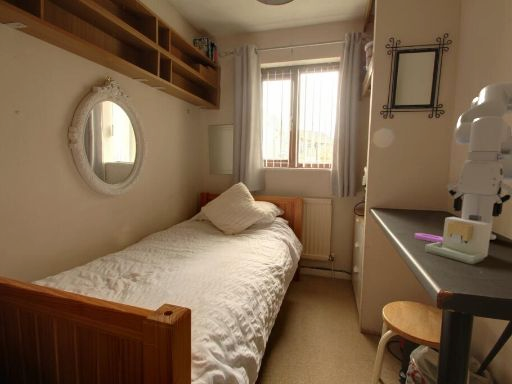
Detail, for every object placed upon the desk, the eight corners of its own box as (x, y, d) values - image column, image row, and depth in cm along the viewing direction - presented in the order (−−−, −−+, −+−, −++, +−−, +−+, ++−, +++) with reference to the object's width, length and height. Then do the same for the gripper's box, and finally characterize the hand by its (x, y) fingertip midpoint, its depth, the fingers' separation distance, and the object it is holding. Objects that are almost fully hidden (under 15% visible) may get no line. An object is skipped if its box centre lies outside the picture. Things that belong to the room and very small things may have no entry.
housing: (449, 246, 88) (452, 216, 87) (487, 256, 80) (491, 223, 79) (441, 248, 85) (445, 217, 84) (480, 258, 77) (484, 224, 76)
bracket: (459, 244, 93) (461, 224, 92) (456, 247, 89) (459, 226, 88) (416, 235, 102) (418, 217, 101) (412, 238, 98) (414, 219, 97)
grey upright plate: (469, 237, 86) (472, 214, 86) (478, 239, 84) (481, 216, 84) (450, 241, 80) (453, 217, 79) (460, 243, 78) (463, 218, 77)
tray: (437, 247, 86) (438, 241, 86) (484, 260, 76) (485, 253, 76) (424, 251, 82) (425, 244, 82) (471, 264, 72) (472, 257, 72)
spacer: (452, 235, 83) (453, 222, 82) (471, 239, 78) (473, 225, 78) (446, 236, 81) (448, 222, 80) (466, 240, 77) (468, 226, 76)
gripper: (525, 159, 77) (517, 218, 78) (455, 159, 91) (449, 209, 93) (516, 157, 73) (507, 219, 74) (445, 157, 87) (439, 209, 89)
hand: (475, 213), depth 83 cm, fingers open, 9 cm apart
